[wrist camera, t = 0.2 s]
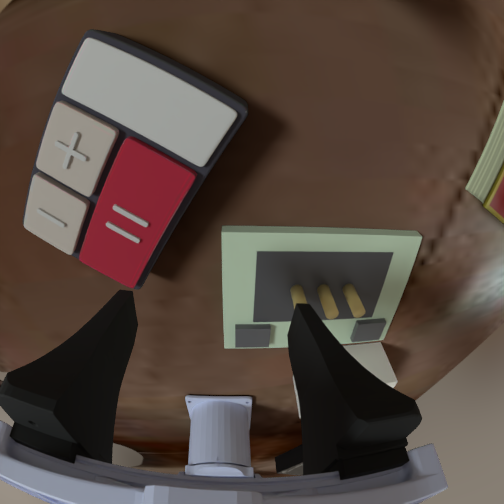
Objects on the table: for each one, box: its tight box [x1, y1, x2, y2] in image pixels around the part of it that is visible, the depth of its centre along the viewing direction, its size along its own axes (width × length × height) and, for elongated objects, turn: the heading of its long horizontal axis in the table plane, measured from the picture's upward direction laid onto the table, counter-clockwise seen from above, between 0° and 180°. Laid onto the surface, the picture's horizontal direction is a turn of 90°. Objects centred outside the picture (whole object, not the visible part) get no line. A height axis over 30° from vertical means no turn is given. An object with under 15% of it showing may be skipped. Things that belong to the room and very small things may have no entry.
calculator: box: [23, 29, 248, 289], centre depth 18 cm, size 11×4×15 cm
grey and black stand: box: [275, 444, 303, 475], centre depth 37 cm, size 20×14×17 cm
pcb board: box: [222, 226, 422, 348], centre depth 24 cm, size 12×16×4 cm
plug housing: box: [293, 342, 398, 418], centre depth 29 cm, size 5×9×6 cm, turn 88°
